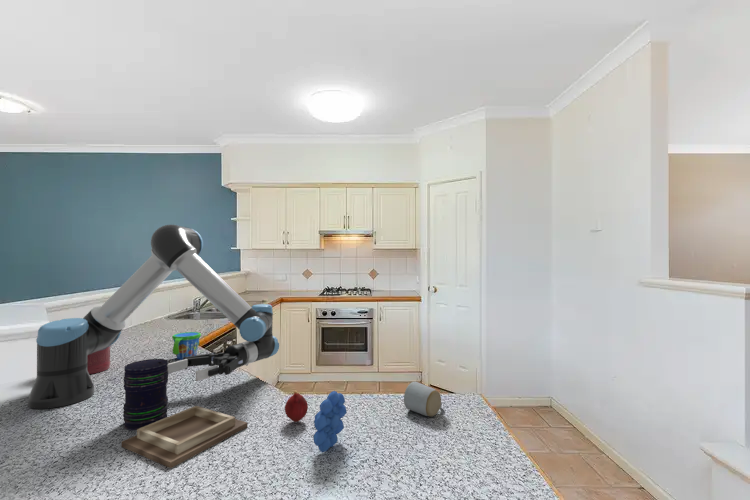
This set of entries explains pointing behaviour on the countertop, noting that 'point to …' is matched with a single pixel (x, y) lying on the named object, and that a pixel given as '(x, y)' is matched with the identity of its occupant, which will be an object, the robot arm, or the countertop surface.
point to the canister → (98, 361)
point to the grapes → (329, 421)
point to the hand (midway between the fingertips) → (180, 372)
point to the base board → (182, 435)
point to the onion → (296, 407)
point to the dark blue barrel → (145, 393)
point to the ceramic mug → (422, 399)
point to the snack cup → (186, 344)
